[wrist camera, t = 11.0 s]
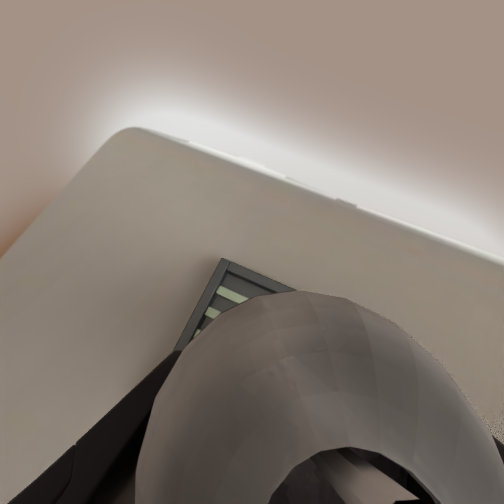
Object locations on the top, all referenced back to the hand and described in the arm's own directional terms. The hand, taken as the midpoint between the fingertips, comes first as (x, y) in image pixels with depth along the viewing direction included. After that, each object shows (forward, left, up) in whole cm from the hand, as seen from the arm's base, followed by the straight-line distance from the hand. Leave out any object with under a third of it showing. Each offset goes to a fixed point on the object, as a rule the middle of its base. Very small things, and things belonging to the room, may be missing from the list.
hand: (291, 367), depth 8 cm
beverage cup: (-1, +1, -10) cm, 10 cm away
